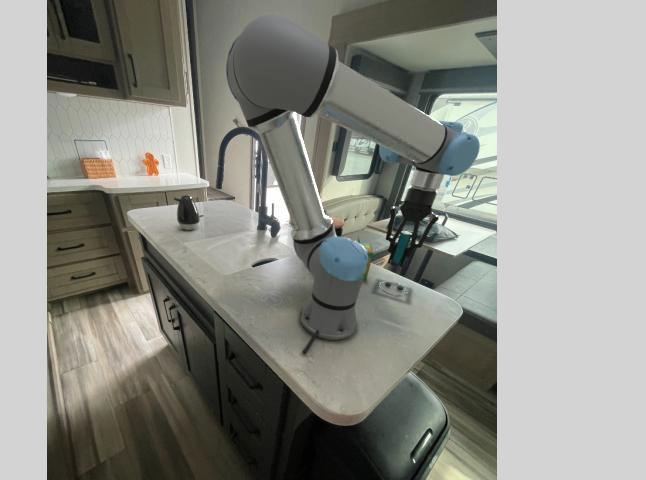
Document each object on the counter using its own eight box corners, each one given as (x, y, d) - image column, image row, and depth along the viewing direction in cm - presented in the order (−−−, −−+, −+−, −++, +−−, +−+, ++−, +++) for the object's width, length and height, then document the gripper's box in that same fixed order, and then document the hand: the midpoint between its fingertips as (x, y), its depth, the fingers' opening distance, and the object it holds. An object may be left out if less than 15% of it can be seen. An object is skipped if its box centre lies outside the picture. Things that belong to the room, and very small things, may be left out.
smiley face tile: (407, 303, 87) (408, 300, 86) (373, 292, 91) (374, 290, 90) (410, 289, 95) (411, 286, 94) (378, 280, 98) (379, 277, 98)
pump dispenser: (176, 225, 130) (171, 192, 121) (197, 223, 134) (194, 191, 125) (179, 233, 123) (175, 198, 114) (202, 230, 127) (199, 197, 118)
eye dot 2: (402, 290, 90) (403, 289, 90) (396, 289, 91) (397, 287, 90) (403, 288, 91) (404, 286, 91) (397, 286, 92) (397, 285, 92)
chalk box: (365, 283, 96) (377, 244, 87) (339, 279, 97) (349, 240, 89) (363, 271, 103) (374, 234, 95) (339, 267, 105) (348, 231, 96)
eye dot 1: (390, 287, 91) (391, 285, 91) (384, 285, 92) (385, 284, 92) (391, 284, 93) (391, 283, 93) (385, 283, 94) (385, 281, 93)
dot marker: (399, 268, 86) (411, 235, 80) (388, 265, 87) (400, 232, 81) (400, 264, 88) (412, 232, 82) (390, 261, 90) (401, 230, 83)
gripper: (455, 190, 74) (422, 266, 88) (394, 181, 80) (372, 253, 93) (456, 195, 69) (421, 275, 82) (391, 185, 74) (367, 261, 88)
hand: (395, 263), depth 88 cm, fingers closed on dot marker, 3 cm apart
